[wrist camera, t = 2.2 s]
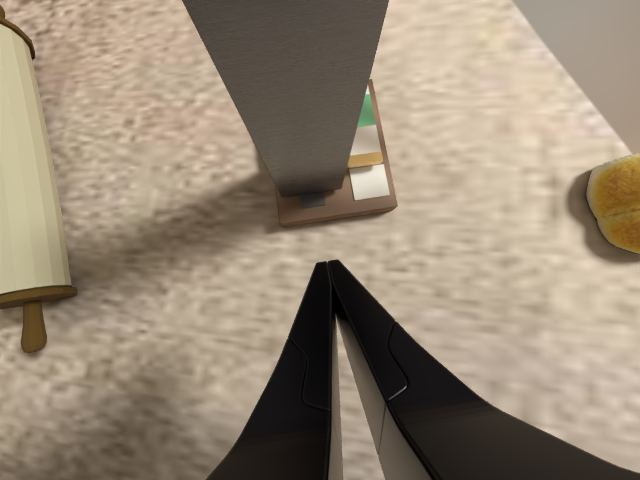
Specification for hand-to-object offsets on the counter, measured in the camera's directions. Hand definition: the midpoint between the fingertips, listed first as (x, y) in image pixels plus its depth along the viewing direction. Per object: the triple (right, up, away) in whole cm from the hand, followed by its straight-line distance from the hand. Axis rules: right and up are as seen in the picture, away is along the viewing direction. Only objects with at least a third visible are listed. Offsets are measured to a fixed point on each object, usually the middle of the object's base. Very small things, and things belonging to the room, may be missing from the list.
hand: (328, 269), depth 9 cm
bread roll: (+28, +4, +13) cm, 31 cm away
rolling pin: (-26, +8, +14) cm, 31 cm away
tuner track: (0, +9, +14) cm, 16 cm away
